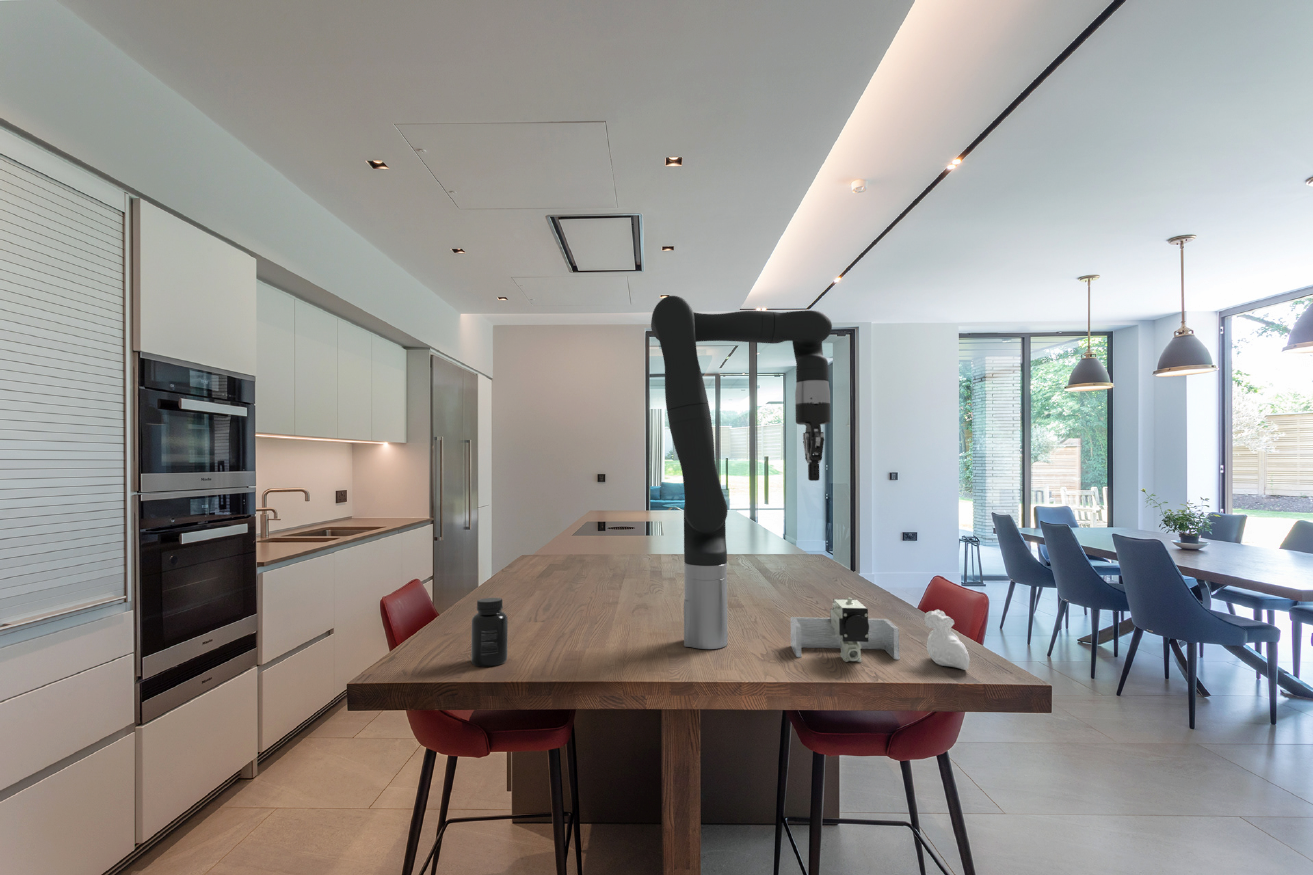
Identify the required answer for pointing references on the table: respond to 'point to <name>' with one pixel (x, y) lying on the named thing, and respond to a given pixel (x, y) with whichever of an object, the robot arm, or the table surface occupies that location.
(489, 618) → the supplement bottle
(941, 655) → the bust
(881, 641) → the cradle
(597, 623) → the table surface
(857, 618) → the pneumatic valve
